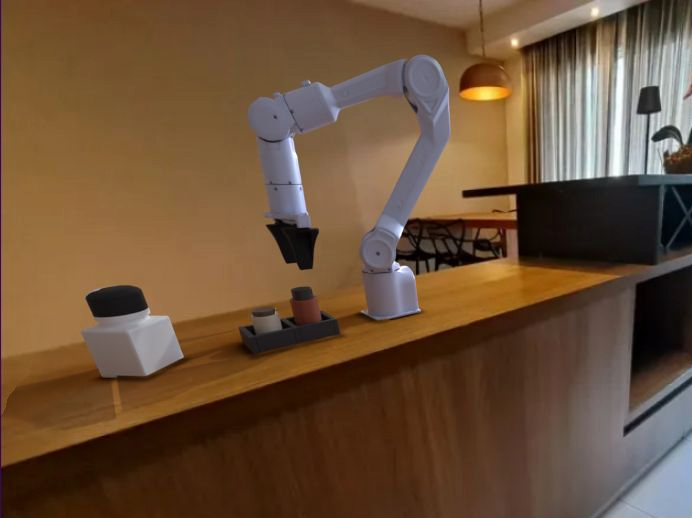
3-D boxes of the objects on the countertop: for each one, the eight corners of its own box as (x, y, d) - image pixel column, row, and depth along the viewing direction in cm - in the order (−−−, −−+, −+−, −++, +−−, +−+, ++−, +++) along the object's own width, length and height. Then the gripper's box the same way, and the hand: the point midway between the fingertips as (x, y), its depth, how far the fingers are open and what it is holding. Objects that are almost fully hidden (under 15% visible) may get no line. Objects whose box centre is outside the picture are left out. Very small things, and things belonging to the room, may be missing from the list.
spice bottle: (319, 326, 79) (309, 284, 75) (327, 332, 76) (318, 288, 72) (294, 332, 76) (283, 288, 73) (302, 338, 73) (292, 293, 70)
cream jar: (281, 336, 75) (273, 304, 72) (288, 342, 72) (280, 309, 70) (255, 342, 72) (246, 309, 70) (262, 348, 70) (252, 314, 67)
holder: (325, 327, 81) (321, 310, 79) (340, 336, 76) (337, 318, 75) (243, 345, 73) (238, 327, 71) (255, 357, 68) (249, 337, 67)
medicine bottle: (186, 360, 67) (157, 282, 62) (147, 379, 61) (111, 294, 56) (143, 359, 68) (112, 281, 63) (100, 378, 62) (61, 294, 57)
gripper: (246, 183, 77) (263, 262, 82) (270, 185, 67) (288, 275, 73) (289, 183, 81) (302, 259, 87) (317, 185, 71) (330, 270, 77)
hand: (299, 266), depth 80 cm, fingers open, 7 cm apart
